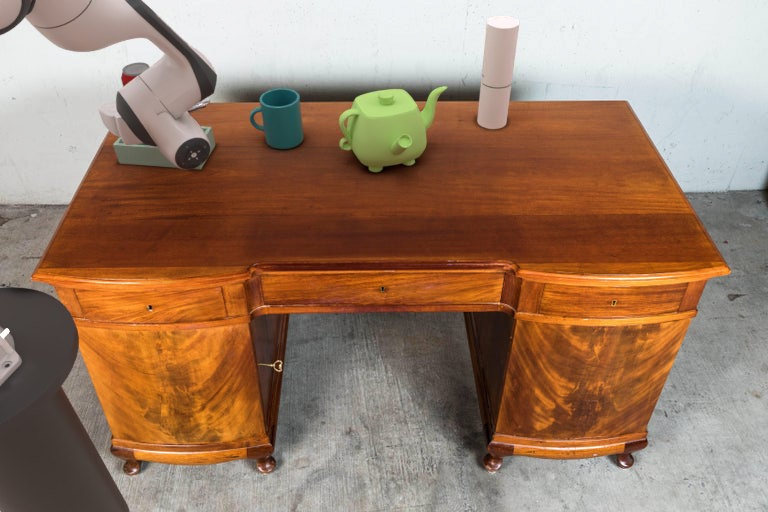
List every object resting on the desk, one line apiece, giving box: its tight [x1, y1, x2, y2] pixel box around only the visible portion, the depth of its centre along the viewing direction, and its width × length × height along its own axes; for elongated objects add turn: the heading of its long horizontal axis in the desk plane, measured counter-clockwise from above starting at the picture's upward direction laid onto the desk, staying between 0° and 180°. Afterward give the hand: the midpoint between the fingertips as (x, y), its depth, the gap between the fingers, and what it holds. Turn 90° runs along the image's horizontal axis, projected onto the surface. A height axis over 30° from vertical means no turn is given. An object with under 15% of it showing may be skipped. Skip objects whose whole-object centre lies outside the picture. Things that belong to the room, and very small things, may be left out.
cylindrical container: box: [476, 14, 520, 130], centre depth 153 cm, size 7×7×25 cm
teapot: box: [338, 85, 448, 173], centre depth 144 cm, size 25×22×16 cm
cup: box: [249, 87, 305, 150], centre depth 152 cm, size 9×12×11 cm
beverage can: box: [120, 61, 150, 88], centre depth 137 cm, size 7×7×12 cm
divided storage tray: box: [112, 125, 216, 170], centre depth 150 cm, size 10×19×5 cm, turn 82°
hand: (141, 90), depth 137 cm, fingers closed on beverage can, 7 cm apart
